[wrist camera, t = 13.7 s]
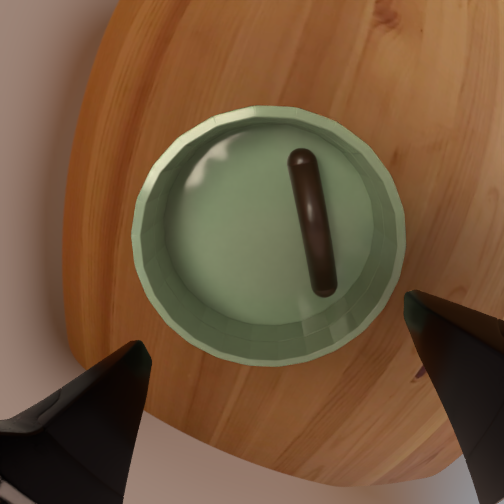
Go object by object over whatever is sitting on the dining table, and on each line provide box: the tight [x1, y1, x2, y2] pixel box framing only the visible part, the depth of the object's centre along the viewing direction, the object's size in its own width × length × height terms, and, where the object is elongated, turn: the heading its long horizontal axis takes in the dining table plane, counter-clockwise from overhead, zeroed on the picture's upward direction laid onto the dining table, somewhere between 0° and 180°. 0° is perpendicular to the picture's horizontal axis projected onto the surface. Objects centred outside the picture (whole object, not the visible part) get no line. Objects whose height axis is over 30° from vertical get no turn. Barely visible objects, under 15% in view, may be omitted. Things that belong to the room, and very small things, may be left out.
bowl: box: [131, 105, 406, 367], centre depth 17 cm, size 15×15×4 cm
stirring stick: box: [287, 148, 338, 298], centre depth 17 cm, size 10×2×2 cm, turn 14°
